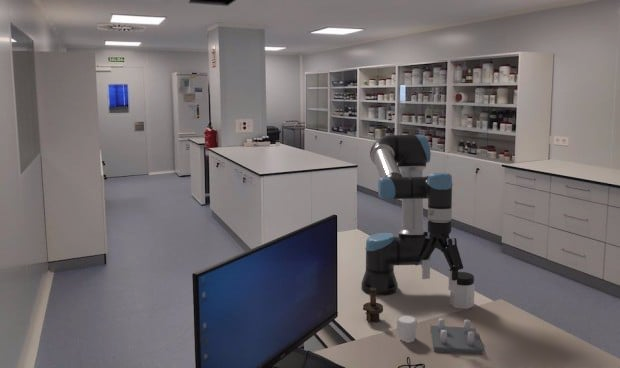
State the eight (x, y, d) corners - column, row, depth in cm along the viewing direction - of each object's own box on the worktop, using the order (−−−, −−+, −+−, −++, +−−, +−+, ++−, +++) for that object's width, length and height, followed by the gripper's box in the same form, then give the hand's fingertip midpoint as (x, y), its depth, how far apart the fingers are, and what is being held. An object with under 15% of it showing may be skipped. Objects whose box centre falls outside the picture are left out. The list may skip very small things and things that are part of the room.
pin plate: (430, 329, 175) (430, 314, 174) (475, 332, 173) (475, 317, 172) (433, 351, 161) (434, 335, 160) (482, 354, 158) (483, 338, 157)
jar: (462, 311, 189) (463, 281, 187) (445, 303, 196) (446, 274, 194) (478, 305, 194) (479, 276, 192) (461, 298, 201) (462, 269, 199)
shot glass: (414, 344, 165) (415, 324, 164) (394, 341, 168) (394, 321, 166) (418, 335, 172) (418, 316, 170) (397, 332, 174) (398, 313, 173)
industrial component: (369, 326, 179) (369, 294, 176) (358, 318, 185) (358, 287, 183) (391, 320, 183) (391, 289, 180) (380, 312, 189) (380, 282, 187)
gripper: (407, 215, 173) (407, 275, 176) (456, 227, 151) (455, 296, 153) (425, 214, 177) (424, 273, 179) (475, 225, 154) (474, 292, 156)
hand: (438, 284), depth 166 cm, fingers open, 13 cm apart
